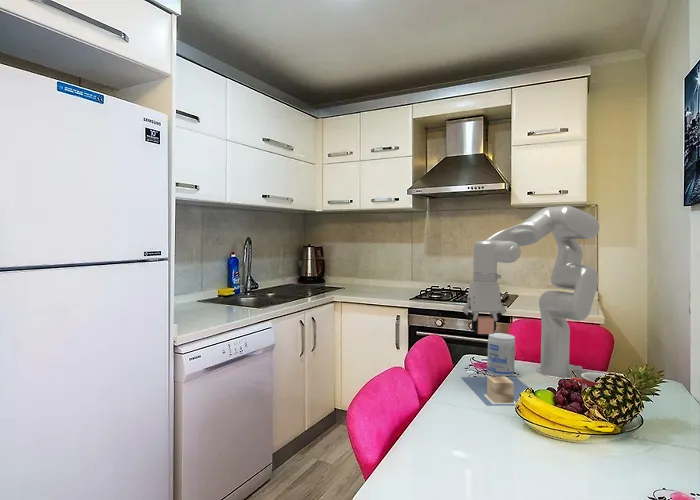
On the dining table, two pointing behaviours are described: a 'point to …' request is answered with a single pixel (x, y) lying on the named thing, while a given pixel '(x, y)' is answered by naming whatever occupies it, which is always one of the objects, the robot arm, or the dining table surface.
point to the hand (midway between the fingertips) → (483, 331)
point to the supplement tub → (501, 354)
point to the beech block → (500, 389)
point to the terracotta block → (485, 325)
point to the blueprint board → (481, 389)
